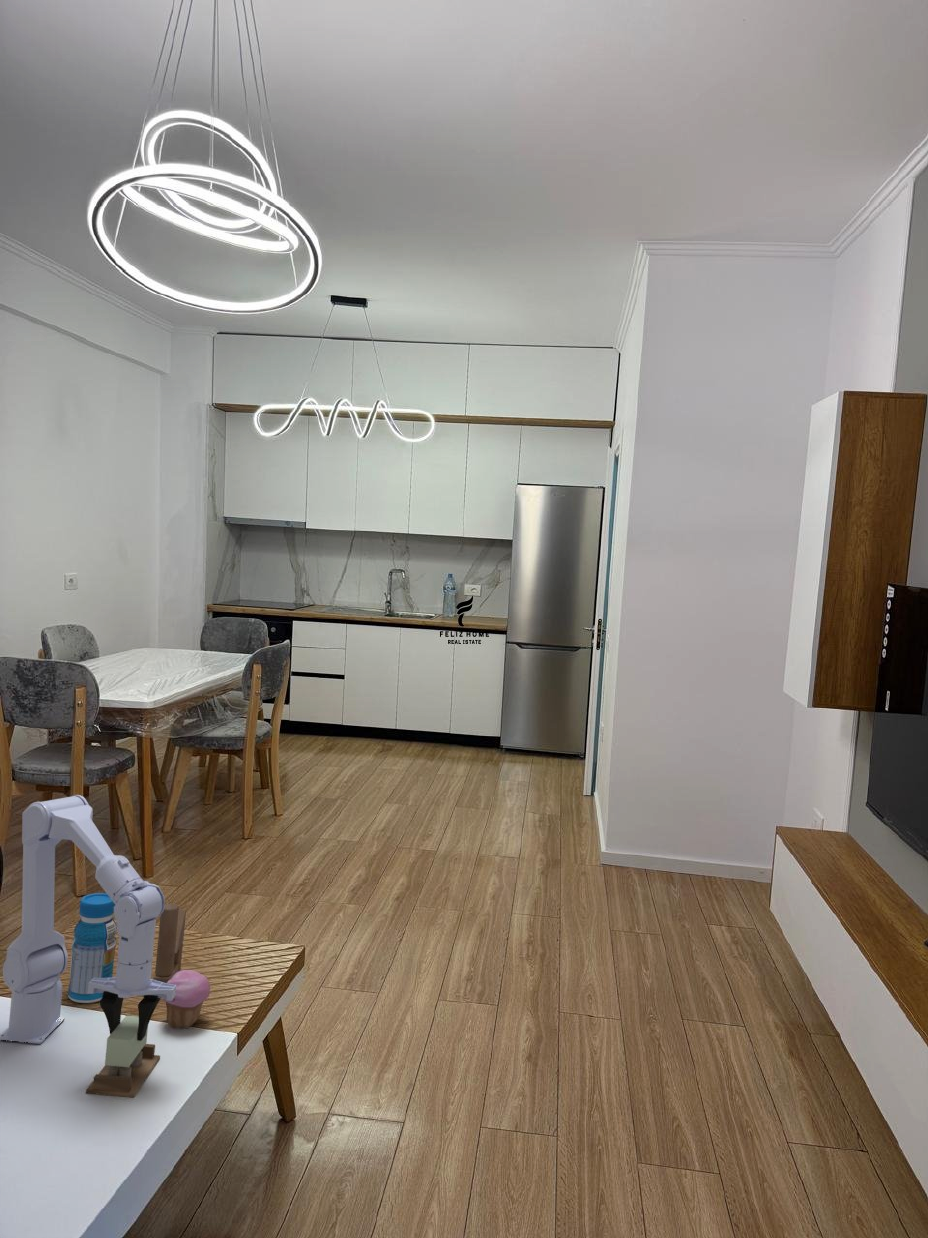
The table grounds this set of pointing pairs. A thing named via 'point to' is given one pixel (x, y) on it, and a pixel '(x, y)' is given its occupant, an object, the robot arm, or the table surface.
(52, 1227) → the table surface
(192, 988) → the cupcake
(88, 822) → the robot arm
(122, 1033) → the pale green block
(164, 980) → the wooden block
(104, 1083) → the peg frame
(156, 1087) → the table surface
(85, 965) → the beverage bottle
